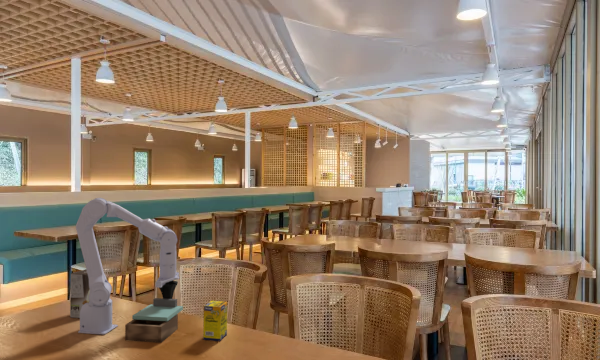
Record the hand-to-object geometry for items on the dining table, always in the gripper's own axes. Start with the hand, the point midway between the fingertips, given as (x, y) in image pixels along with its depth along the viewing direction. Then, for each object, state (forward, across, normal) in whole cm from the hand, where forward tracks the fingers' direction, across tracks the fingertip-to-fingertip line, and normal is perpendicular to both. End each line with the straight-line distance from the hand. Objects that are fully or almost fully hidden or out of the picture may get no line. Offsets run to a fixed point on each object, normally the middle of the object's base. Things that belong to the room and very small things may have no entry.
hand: (167, 302), depth 148 cm
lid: (+2, -7, 0) cm, 7 cm away
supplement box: (+7, -10, -21) cm, 24 cm away
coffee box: (+7, +4, +34) cm, 35 cm away
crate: (+7, -11, 0) cm, 13 cm away
